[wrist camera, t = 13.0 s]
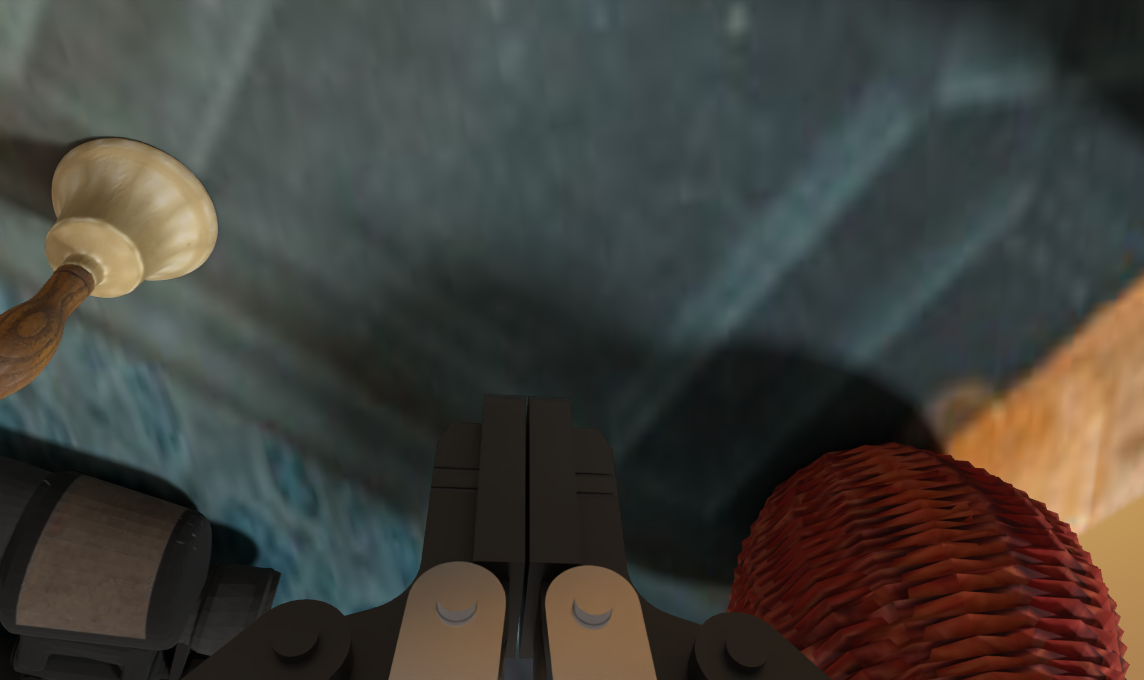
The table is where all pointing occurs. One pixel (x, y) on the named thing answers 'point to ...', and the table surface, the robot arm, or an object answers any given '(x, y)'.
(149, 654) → the binoculars
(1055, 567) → the vase
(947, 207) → the table surface
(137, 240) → the hand bell
